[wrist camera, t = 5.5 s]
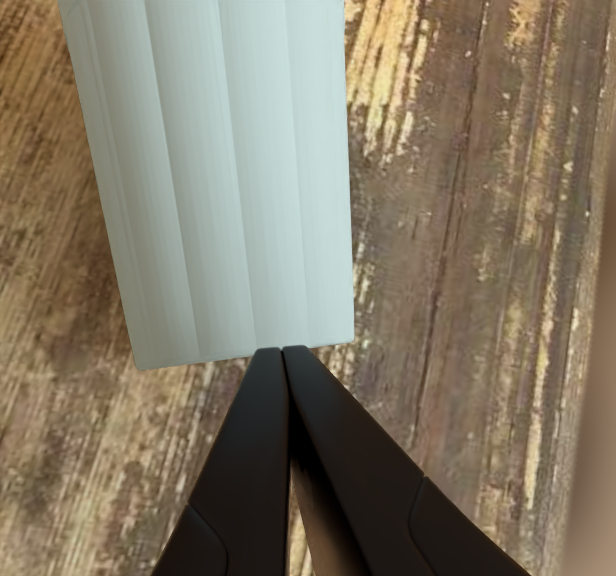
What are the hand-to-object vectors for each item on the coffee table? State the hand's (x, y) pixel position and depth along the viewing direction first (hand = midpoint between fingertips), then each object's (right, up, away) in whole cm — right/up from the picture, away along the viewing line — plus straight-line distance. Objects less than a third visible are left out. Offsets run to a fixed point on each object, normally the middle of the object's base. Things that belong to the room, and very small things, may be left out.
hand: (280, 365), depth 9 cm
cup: (-1, -1, +4) cm, 5 cm away
